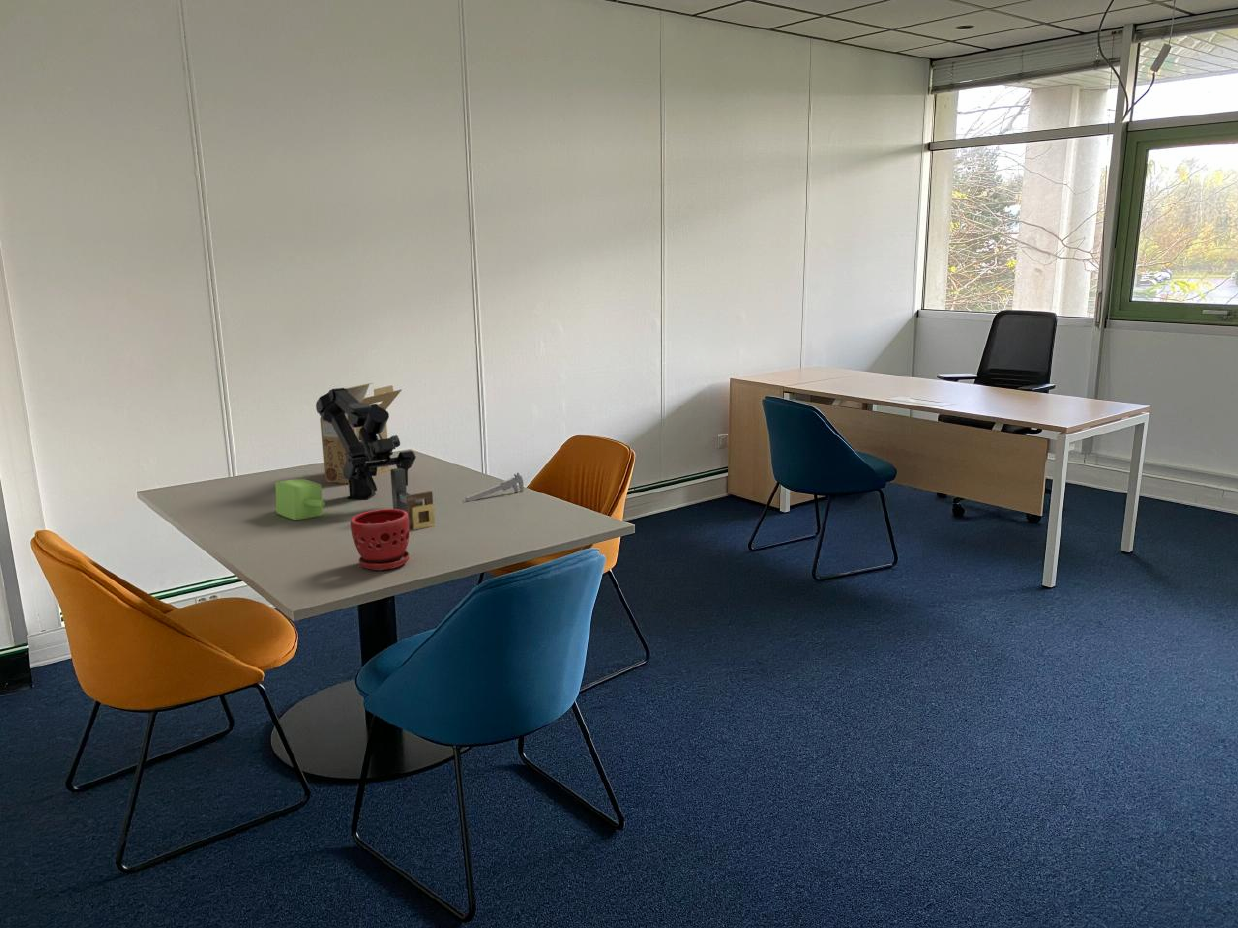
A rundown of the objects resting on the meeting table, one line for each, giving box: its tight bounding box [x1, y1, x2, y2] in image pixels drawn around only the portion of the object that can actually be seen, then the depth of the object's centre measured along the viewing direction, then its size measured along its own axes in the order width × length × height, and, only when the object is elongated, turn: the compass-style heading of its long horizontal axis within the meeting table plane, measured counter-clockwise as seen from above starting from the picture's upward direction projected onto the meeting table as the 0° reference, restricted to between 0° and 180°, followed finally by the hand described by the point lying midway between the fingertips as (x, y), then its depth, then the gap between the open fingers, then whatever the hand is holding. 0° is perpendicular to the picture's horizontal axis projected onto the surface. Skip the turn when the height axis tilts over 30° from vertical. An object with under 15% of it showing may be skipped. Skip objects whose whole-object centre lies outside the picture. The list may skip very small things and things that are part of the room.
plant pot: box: [350, 508, 411, 571], centre depth 217 cm, size 13×13×12 cm
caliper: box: [462, 472, 525, 503], centre depth 279 cm, size 20×1×6 cm, turn 127°
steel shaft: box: [389, 467, 424, 512], centre depth 254 cm, size 14×3×13 cm, turn 37°
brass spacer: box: [411, 503, 436, 531], centre depth 248 cm, size 1×6×6 cm, turn 127°
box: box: [319, 382, 403, 485], centre depth 304 cm, size 21×20×30 cm
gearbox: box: [275, 478, 326, 521], centre depth 261 cm, size 18×10×10 cm, turn 47°
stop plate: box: [406, 490, 434, 530], centre depth 249 cm, size 4×7×9 cm, turn 127°
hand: (391, 488), depth 262 cm, fingers open, 9 cm apart
